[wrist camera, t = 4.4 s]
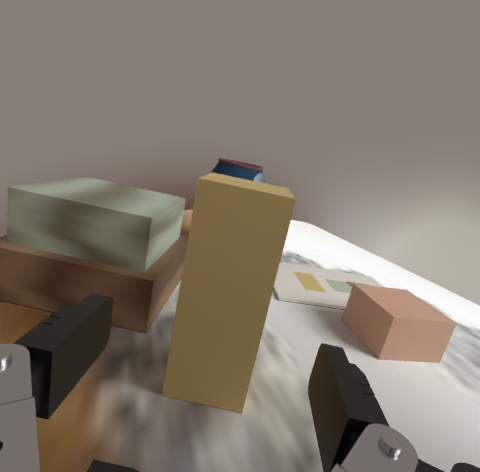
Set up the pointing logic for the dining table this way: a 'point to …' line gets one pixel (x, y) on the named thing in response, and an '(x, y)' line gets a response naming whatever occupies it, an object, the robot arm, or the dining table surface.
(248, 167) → the soda can
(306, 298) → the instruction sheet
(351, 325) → the brick
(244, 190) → the tall brick
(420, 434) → the dining table surface
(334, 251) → the dining table surface
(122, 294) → the tower base
